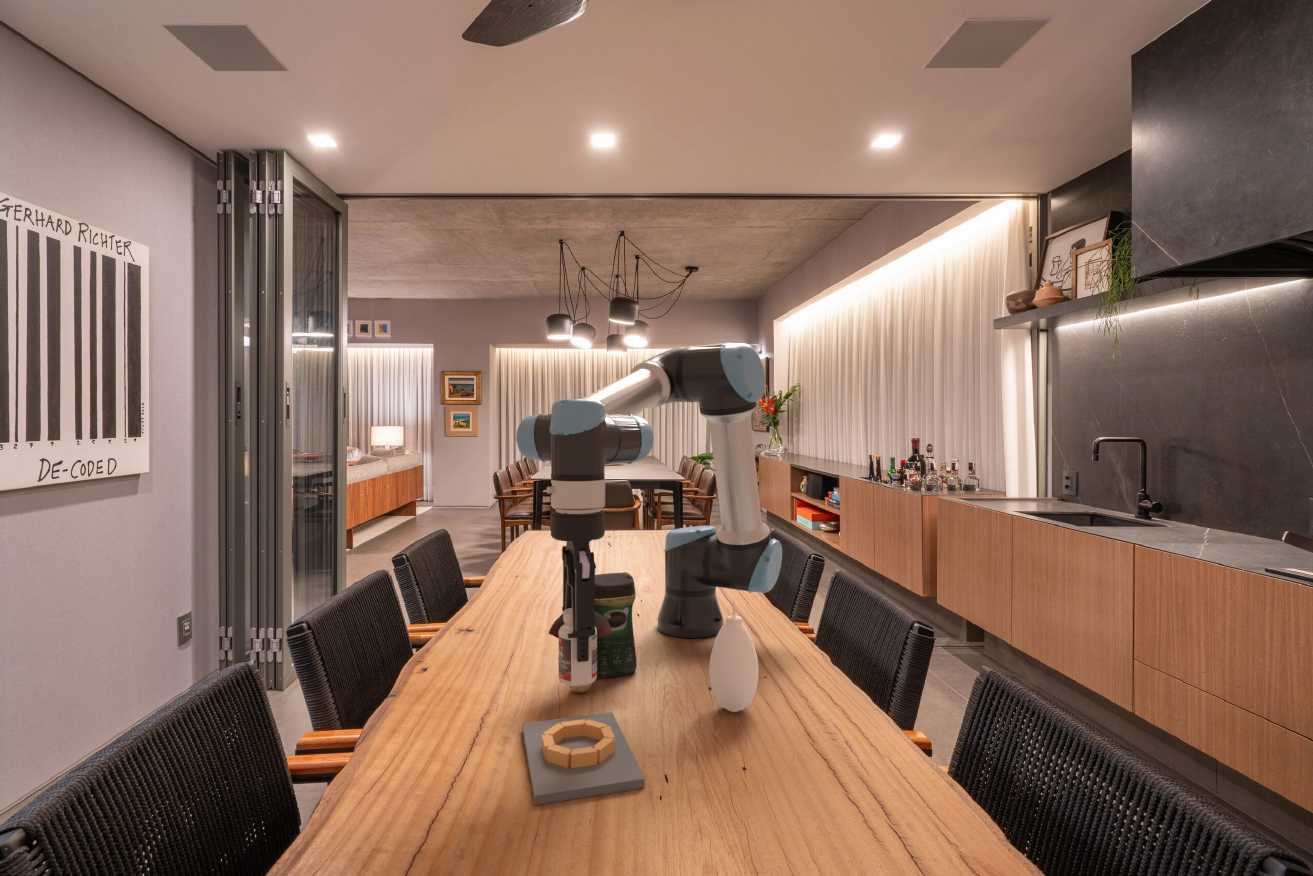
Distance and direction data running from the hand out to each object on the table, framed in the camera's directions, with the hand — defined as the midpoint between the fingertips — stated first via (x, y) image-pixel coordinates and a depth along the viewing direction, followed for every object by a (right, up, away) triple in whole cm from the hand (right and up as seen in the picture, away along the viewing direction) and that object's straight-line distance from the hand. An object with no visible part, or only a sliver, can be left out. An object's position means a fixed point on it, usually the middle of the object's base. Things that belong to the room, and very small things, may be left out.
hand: (577, 674), depth 91 cm
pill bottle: (0, -1, 0) cm, 1 cm away
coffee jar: (+2, -11, +32) cm, 34 cm away
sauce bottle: (+24, -12, +15) cm, 31 cm away
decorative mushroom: (-2, -12, +23) cm, 25 cm away
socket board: (0, -12, 0) cm, 12 cm away
